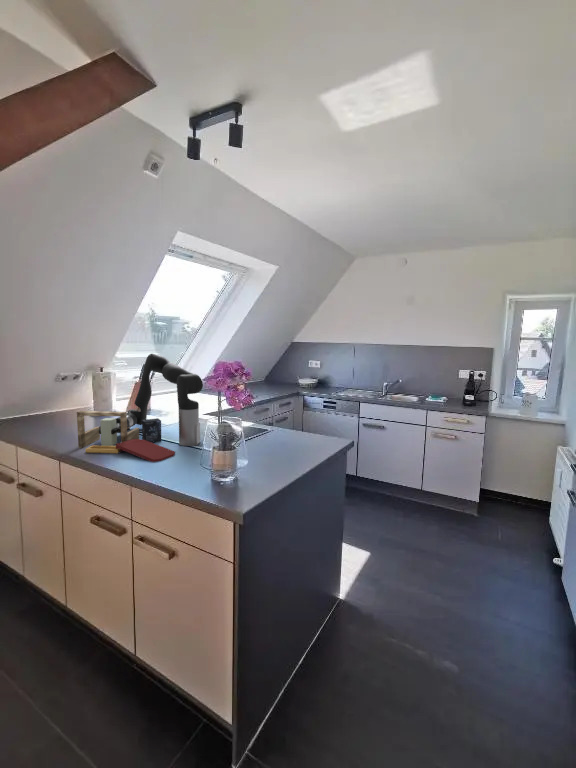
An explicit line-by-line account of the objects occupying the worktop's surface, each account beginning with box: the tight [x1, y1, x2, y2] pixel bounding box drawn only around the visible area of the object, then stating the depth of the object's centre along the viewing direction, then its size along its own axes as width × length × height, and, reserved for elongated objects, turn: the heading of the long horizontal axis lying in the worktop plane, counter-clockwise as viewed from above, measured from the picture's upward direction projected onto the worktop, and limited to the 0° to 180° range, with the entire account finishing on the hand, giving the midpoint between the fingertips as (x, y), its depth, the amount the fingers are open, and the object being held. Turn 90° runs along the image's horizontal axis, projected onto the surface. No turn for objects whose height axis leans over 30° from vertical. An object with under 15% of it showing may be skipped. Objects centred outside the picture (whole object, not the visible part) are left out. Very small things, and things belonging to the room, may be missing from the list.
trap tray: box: [85, 444, 121, 455], centre depth 163 cm, size 14×6×2 cm, turn 89°
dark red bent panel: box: [115, 438, 176, 463], centre depth 161 cm, size 12×5×26 cm
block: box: [99, 417, 118, 446], centre depth 173 cm, size 5×5×12 cm
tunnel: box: [76, 410, 140, 449], centre depth 174 cm, size 21×16×16 cm
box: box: [141, 418, 162, 443], centre depth 180 cm, size 8×6×11 cm
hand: (106, 432), depth 171 cm, fingers closed on block, 5 cm apart
